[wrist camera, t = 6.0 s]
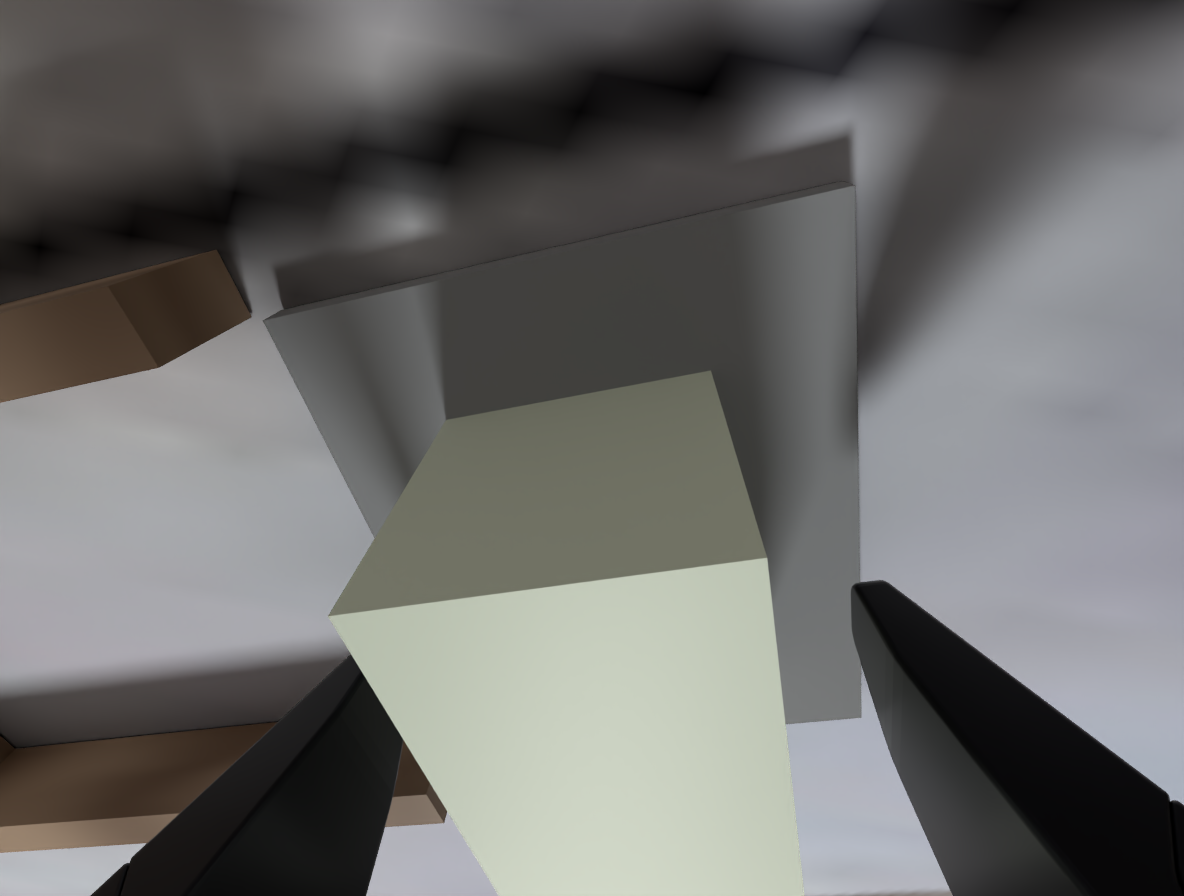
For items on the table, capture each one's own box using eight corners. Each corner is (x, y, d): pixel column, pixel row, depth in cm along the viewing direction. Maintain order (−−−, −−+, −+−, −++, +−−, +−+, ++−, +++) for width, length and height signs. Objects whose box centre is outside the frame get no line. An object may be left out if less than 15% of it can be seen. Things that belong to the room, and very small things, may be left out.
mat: (841, 181, 7) (855, 185, 7) (853, 696, 12) (861, 717, 12) (281, 310, 9) (263, 320, 8) (488, 729, 13) (483, 750, 13)
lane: (216, 249, 8) (107, 286, 7) (467, 732, 14) (443, 822, 12) (-419, 410, 10) (-627, 470, 9) (10, 774, 16) (-67, 857, 14)
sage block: (710, 370, 8) (767, 557, 5) (751, 660, 11) (806, 908, 8) (445, 419, 9) (328, 616, 5) (549, 681, 12) (514, 920, 8)
